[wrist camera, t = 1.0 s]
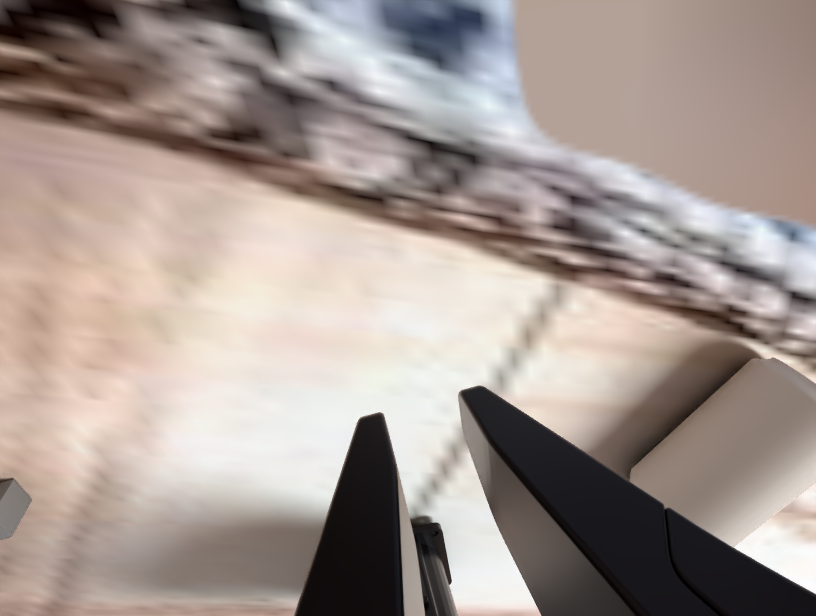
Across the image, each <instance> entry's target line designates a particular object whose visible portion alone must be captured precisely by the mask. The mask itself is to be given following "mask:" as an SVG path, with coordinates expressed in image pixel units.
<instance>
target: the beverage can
mask: <svg viewBox="0 0 816 616" xmlns="http://www.w3.org/2000/svg"><path fill="white" fill-rule="evenodd" d="M629 481H630V482H631V483H633V484H634V485H636V486H637V487H639V488H640V489H642V490H644V491H645V492H647V493H648V494H650V495H651V496H653V497H654V498H656V499H657V500H659V501H660V502H662V503H663V504H664V506H665V509H666V508H667V507H670V508H672V509H673V510H675V511H676V512H678V513H679V514H681V515H682V516H684V517H685V518H687V519H688V520H690V521H692V522H693V523H695V524H696V525H698V526H699V527H701V528H703V529H704V530H706V531H707V532H709V533H711V534H712V535H714V536H715V537H717V538H719V539H720V540H722V541H724V542H725V543H727V544H728V545H730V546H732V547H734V546H736V545H737V544H738V543H740V542H741V541H742V540H743V539H745V538H746V537H747V536H748V535H750V534H751V533H752V532H753V531H755V530H756V529H757V528H759V527H760V526H761V525H762V524H764V523H765V522H766V521H767V520H769V519H770V518H771V517H773V516H774V515H775V514H776V513H778V512H779V511H780V510H781V509H783V508H784V507H785V506H787V505H788V504H789V503H790V502H792V501H793V500H794V499H795V498H797V497H798V496H799V495H801V494H802V493H803V492H804V491H806V490H807V489H808V488H809V487H811V486H812V485H813V484H815V483H816V384H815V383H814V382H812V381H811V380H809V379H808V378H807V377H805V376H804V375H802V374H801V373H799V372H798V371H796V370H794V369H793V368H791V367H790V366H788V365H787V364H785V363H783V362H782V361H780V360H778V359H776V358H771V359H767V360H765V359H758V358H753V359H751V360H750V361H749V362H748V363H747V364H745V365H744V366H743V367H742V368H741V369H740V370H739V371H738V372H737V373H736V374H735V375H733V376H732V377H731V378H730V379H729V380H728V381H727V382H726V383H725V384H724V385H723V386H721V387H720V388H719V389H718V390H717V391H716V392H715V393H714V394H713V395H712V396H710V397H709V398H708V399H707V400H706V401H705V402H704V403H703V404H702V405H701V406H700V407H698V408H697V409H696V410H695V411H694V412H693V413H692V414H691V415H690V416H689V417H688V418H686V419H685V420H684V421H683V422H682V423H681V424H680V425H679V426H678V427H677V428H676V429H674V430H673V431H672V432H671V433H670V434H669V435H668V436H667V437H666V438H665V439H663V440H662V441H661V442H660V443H659V444H658V445H657V446H656V447H655V448H654V449H653V450H651V451H650V452H649V453H648V454H647V455H646V456H645V457H644V458H643V459H642V460H641V461H639V462H638V463H637V464H636V465H635V466H634V467H633V468H632V469H631V473H630V480H629Z"/></svg>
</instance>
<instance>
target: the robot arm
mask: <svg viewBox="0 0 816 616" xmlns="http://www.w3.org/2000/svg"><path fill="white" fill-rule="evenodd" d="M458 399H459V407H460V415H461V422H462V429H463V433H464V437H465V440H466V443H467V445H468V448H469V451H470V454H471V457H472V459H473V462H474V465H475V468H476V470H477V473H478V476H479V479H480V482H481V484H482V487H483V490H484V493H485V496H486V498H487V501H488V504H489V507H490V509H491V512H492V514H493V517H494V519H495V522H496V524H497V526H498V528H499V530H500V533H501V535H502V537H503V539H504V541H505V543H506V545H507V547H508V549H509V551H510V553H511V555H512V557H513V559H514V561H515V563H516V565H517V567H518V569H519V571H520V573H521V575H522V577H523V579H524V581H525V583H526V585H527V587H528V589H529V591H530V593H531V595H532V597H533V599H534V601H535V603H536V605H537V607H538V609H539V611H540V613H541V615H542V616H816V594H814V593H813V592H811V591H809V590H807V589H805V588H803V587H802V586H800V585H798V584H796V583H794V582H792V581H791V580H789V579H787V578H785V577H784V576H782V575H780V574H778V573H777V572H775V571H773V570H771V569H770V568H768V567H766V566H764V565H763V564H761V563H759V562H757V561H756V560H754V559H752V558H750V557H748V556H747V555H745V554H743V553H741V552H740V551H738V550H736V549H735V548H733V547H732V546H730V545H728V544H727V543H725V542H724V541H722V540H720V539H719V538H717V537H715V536H714V535H712V534H711V533H709V532H707V531H706V530H704V529H703V528H701V527H699V526H698V525H696V524H695V523H693V522H692V521H690V520H688V519H687V518H685V517H684V516H682V515H681V514H679V513H678V512H676V511H675V510H673V509H672V508H670V507H667V508H666V509H665V506H664V504H663V503H662V502H660V501H659V500H657V499H656V498H654V497H653V496H651V495H650V494H648V493H647V492H645V491H644V490H642V489H640V488H639V487H637V486H636V485H634V484H633V483H631V482H630V481H628V480H627V479H625V478H624V477H622V476H620V475H619V474H617V473H616V472H614V471H613V470H611V469H610V468H608V467H607V466H605V465H604V464H602V463H601V462H599V461H597V460H596V459H594V458H593V457H591V456H590V455H588V454H587V453H585V452H584V451H582V450H581V449H579V448H577V447H576V446H574V445H573V444H571V443H570V442H568V441H567V440H565V439H564V438H562V437H561V436H559V435H557V434H556V433H554V432H553V431H551V430H550V429H548V428H547V427H545V426H544V425H542V424H541V423H539V422H538V421H536V420H534V419H533V418H531V417H530V416H528V415H527V414H525V413H524V412H522V411H521V410H519V409H518V408H516V407H514V406H513V405H511V404H510V403H508V402H507V401H505V400H504V399H502V398H501V397H499V396H498V395H496V394H494V393H493V392H491V391H490V390H488V389H487V388H485V387H483V386H475V387H471V388H468V389H464V390H461V391H460V392H459V395H458ZM451 582H452V580H451V575H450V569H449V564H448V559H447V553H446V548H445V543H444V537H443V532H442V529H441V526H440V524H439V523H430V524H427V525H423V526H420V527H417V528H413V529H412V526H411V522H410V518H409V514H408V509H407V505H406V501H405V497H404V493H403V489H402V484H401V480H400V476H399V472H398V468H397V464H396V459H395V455H394V452H393V448H392V444H391V440H390V436H389V432H388V428H387V425H386V421H385V417H384V414H383V413H381V412H378V413H375V414H371V415H367V416H364V417H361V418H360V419H359V420H358V422H357V425H356V428H355V431H354V434H353V437H352V440H351V443H350V446H349V449H348V452H347V455H346V458H345V462H344V465H343V468H342V471H341V474H340V477H339V480H338V483H337V486H336V489H335V492H334V495H333V498H332V501H331V504H330V507H329V510H328V514H327V517H326V520H325V523H324V526H323V529H322V532H321V535H320V538H319V541H318V544H317V547H316V550H315V553H314V556H313V559H312V562H311V565H310V569H309V572H308V575H307V578H306V581H305V584H304V587H303V590H302V593H301V596H300V599H299V602H298V605H297V608H296V611H295V614H294V616H458V614H457V611H456V607H455V604H454V601H453V597H452V594H451V590H450V587H449V585H450V584H451Z"/></svg>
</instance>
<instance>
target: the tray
mask: <svg viewBox="0 0 816 616" xmlns="http://www.w3.org/2000/svg"><path fill="white" fill-rule="evenodd" d="M31 501H32V499H31V498H30V497H29V496H28V495H27V494H26V493H25V491H24V490H23V489H22V488H21V487H20V486H19V484H18V483H17V482H16V481H15V480H14V479H12V480H8V481H5V482H1V483H0V540H2V539H6V538H9V537H12V535H13V533H14V531H15V529H16V528H17V526H18V524H19V522H20V520H21V519H22V517H23V515H24V513H25V511H26V510H27V508H28V506H29V504H30V502H31Z"/></svg>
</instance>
